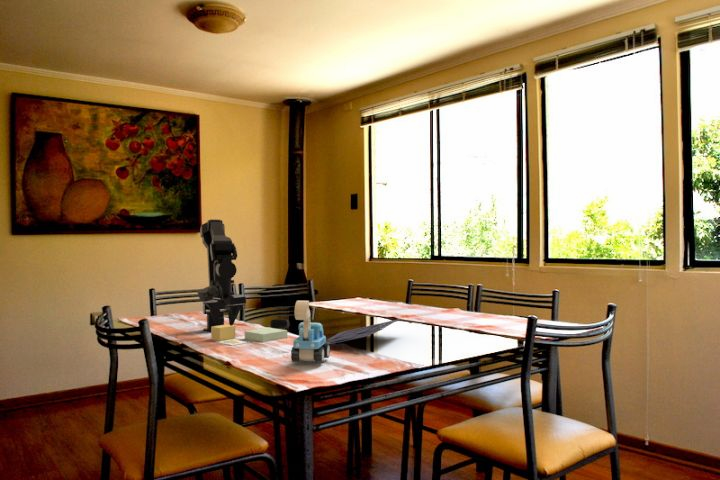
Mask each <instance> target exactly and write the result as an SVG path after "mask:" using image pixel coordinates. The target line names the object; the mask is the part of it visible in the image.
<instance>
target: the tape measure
mask: <svg viewBox="0 0 720 480" xmlns="http://www.w3.org/2000/svg"><path fill="white" fill-rule="evenodd" d="M290 326H291V322H290V320H288V319H286V318H276V319H275V318H274V319H271V320H270V322H269V328H275V329H281V330H285V329H287V328H289V327H290Z"/></svg>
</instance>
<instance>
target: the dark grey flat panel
mask: <svg viewBox="0 0 720 480" xmlns="http://www.w3.org/2000/svg"><path fill="white" fill-rule="evenodd" d="M400 320H401V318H399V319H398V318H397V319H394V320H390V321H385V322H381V323H376V324H371V325H367V326H363V327H358V328H354V329H349V330H343V331H340V332H337V333H336V334H334V335H333V336H331V337H329V338H328V339H326V343H328V344H330V345H332V344H341V343H344V342H345V343H346V342H350V341H354V340H360V339H364V338H366V337H369V336H371V335H372V334H376V333H378V332H380V331H382V330H384V329H385V328H387V327H388V326H390V325H392V324H394V323H395V322H398V321H400Z"/></svg>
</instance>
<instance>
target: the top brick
mask: <svg viewBox="0 0 720 480" xmlns="http://www.w3.org/2000/svg"><path fill="white" fill-rule="evenodd" d="M210 333H211V334H210V335H211V337H210V338H211V340H212V341H217V342H221V341H227V340H236V325H234V324H233V325H231V326H230V324H224V325H220V326H212V327H211V331H210Z"/></svg>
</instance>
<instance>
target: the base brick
mask: <svg viewBox="0 0 720 480" xmlns="http://www.w3.org/2000/svg"><path fill="white" fill-rule="evenodd" d="M248 339H249V340H250V341H255V342H258V343H259V342H260V343H266V342H268V343H269V342H272V341H278V340H283V339H288V330H287V329H275V328H271V327H264V328H263V327H262V328H257V329H251V330H244V340H248Z"/></svg>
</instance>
